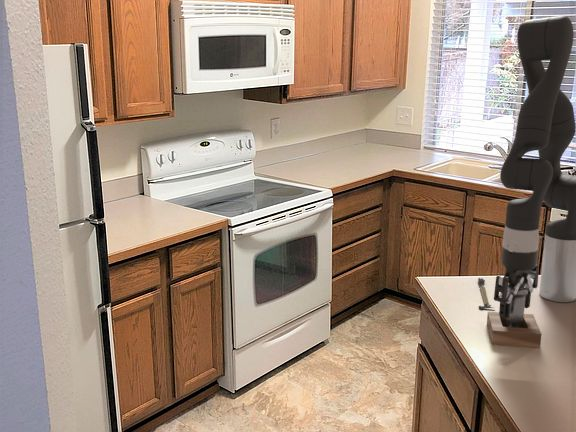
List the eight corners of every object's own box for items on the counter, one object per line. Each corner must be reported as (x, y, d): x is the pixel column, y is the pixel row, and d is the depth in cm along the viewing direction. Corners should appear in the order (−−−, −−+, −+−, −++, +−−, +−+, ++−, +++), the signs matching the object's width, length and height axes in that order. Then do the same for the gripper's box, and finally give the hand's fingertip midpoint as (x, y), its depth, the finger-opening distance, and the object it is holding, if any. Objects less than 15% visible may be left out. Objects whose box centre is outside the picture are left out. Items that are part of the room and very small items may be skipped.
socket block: (486, 324, 150) (487, 311, 149) (531, 327, 148) (533, 314, 147) (491, 344, 140) (493, 330, 139) (540, 347, 138) (541, 333, 137)
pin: (509, 329, 147) (513, 282, 144) (527, 336, 144) (532, 288, 140) (497, 335, 144) (501, 287, 141) (516, 342, 141) (520, 294, 138)
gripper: (522, 235, 145) (516, 299, 149) (487, 248, 136) (482, 315, 141) (552, 242, 139) (545, 308, 144) (517, 257, 131) (511, 326, 135)
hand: (514, 311), depth 142 cm, fingers open, 8 cm apart
